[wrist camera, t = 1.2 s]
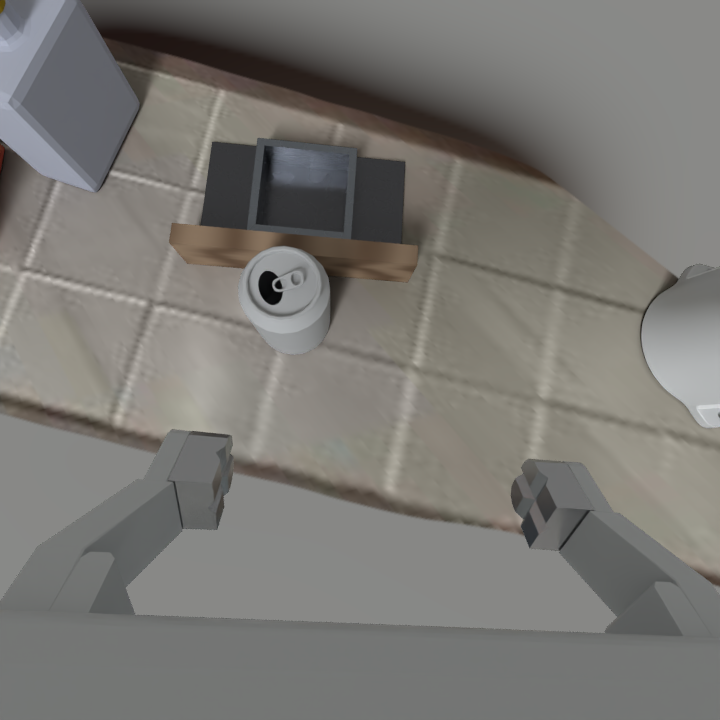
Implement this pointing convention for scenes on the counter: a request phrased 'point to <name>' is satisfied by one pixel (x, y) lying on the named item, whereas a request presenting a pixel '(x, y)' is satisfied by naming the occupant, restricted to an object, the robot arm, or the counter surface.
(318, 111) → the counter surface
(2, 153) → the cracker box
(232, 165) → the socket
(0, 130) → the soap bottle
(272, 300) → the can
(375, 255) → the wooden plank
